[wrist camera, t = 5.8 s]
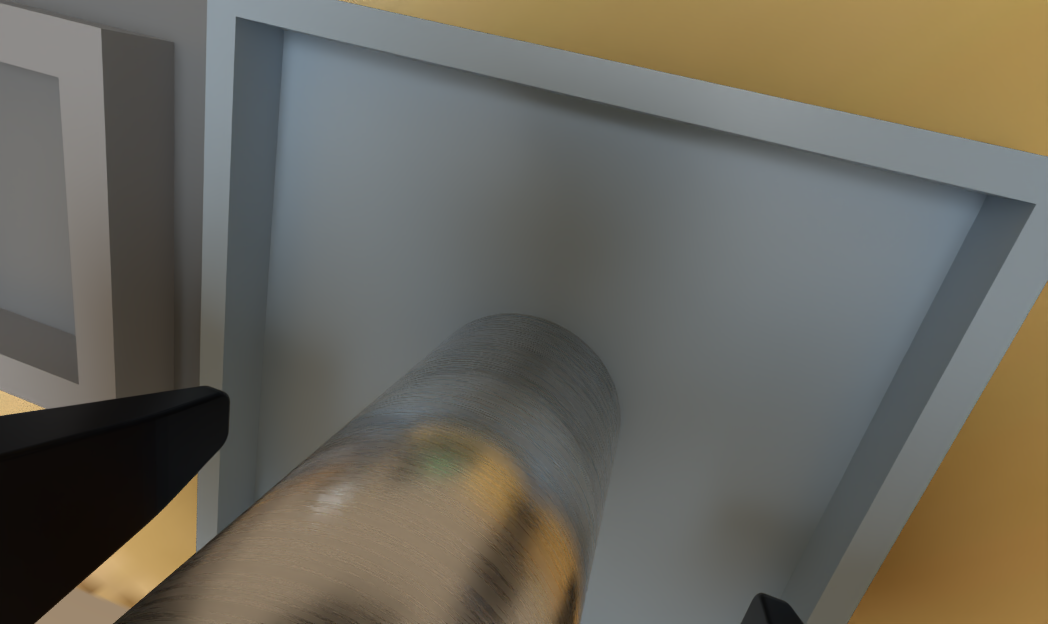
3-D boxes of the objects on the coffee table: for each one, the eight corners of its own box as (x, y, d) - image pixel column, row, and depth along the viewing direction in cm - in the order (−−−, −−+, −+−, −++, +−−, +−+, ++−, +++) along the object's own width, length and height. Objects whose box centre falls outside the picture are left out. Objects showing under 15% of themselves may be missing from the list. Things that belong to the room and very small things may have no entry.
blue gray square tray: (1032, 164, 9) (1111, 170, 7) (729, 733, 14) (735, 814, 12) (276, -4, 11) (207, -29, 10) (245, 529, 16) (195, 574, 15)
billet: (647, 350, 11) (581, 789, 4) (589, 525, 12) (458, 1085, 5) (443, 287, 12) (39, 540, 4) (411, 459, 13) (72, 862, 6)
